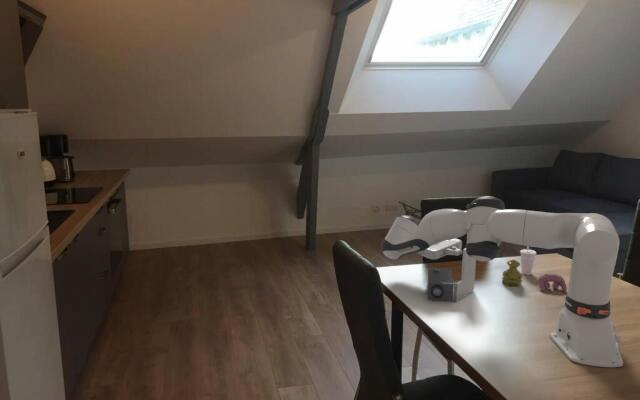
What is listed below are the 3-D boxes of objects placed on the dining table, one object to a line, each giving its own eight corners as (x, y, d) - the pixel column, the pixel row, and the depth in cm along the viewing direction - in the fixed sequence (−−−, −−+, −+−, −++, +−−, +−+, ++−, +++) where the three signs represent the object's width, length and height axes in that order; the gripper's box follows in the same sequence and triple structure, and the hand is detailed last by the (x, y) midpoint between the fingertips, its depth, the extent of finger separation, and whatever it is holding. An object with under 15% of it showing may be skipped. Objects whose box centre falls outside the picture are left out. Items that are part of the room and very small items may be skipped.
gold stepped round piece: (525, 286, 195) (528, 262, 193) (509, 288, 193) (511, 264, 191) (513, 279, 202) (515, 256, 200) (498, 281, 200) (499, 258, 198)
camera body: (452, 304, 179) (454, 283, 177) (427, 301, 181) (428, 281, 179) (450, 285, 196) (451, 267, 194) (427, 283, 197) (428, 265, 196)
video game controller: (563, 292, 193) (562, 274, 194) (568, 292, 188) (566, 273, 190) (537, 291, 194) (536, 274, 195) (541, 291, 189) (540, 272, 191)
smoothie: (514, 271, 211) (517, 240, 208) (525, 269, 213) (528, 238, 210) (526, 276, 205) (529, 244, 202) (538, 274, 208) (541, 242, 205)
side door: (455, 302, 179) (458, 253, 175) (452, 301, 180) (455, 252, 176) (474, 290, 191) (477, 243, 187) (471, 289, 191) (474, 243, 187)
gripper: (414, 242, 190) (445, 250, 180) (443, 232, 204) (473, 239, 194) (413, 258, 192) (444, 267, 182) (442, 247, 205) (472, 254, 196)
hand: (459, 252), depth 188 cm, fingers closed
